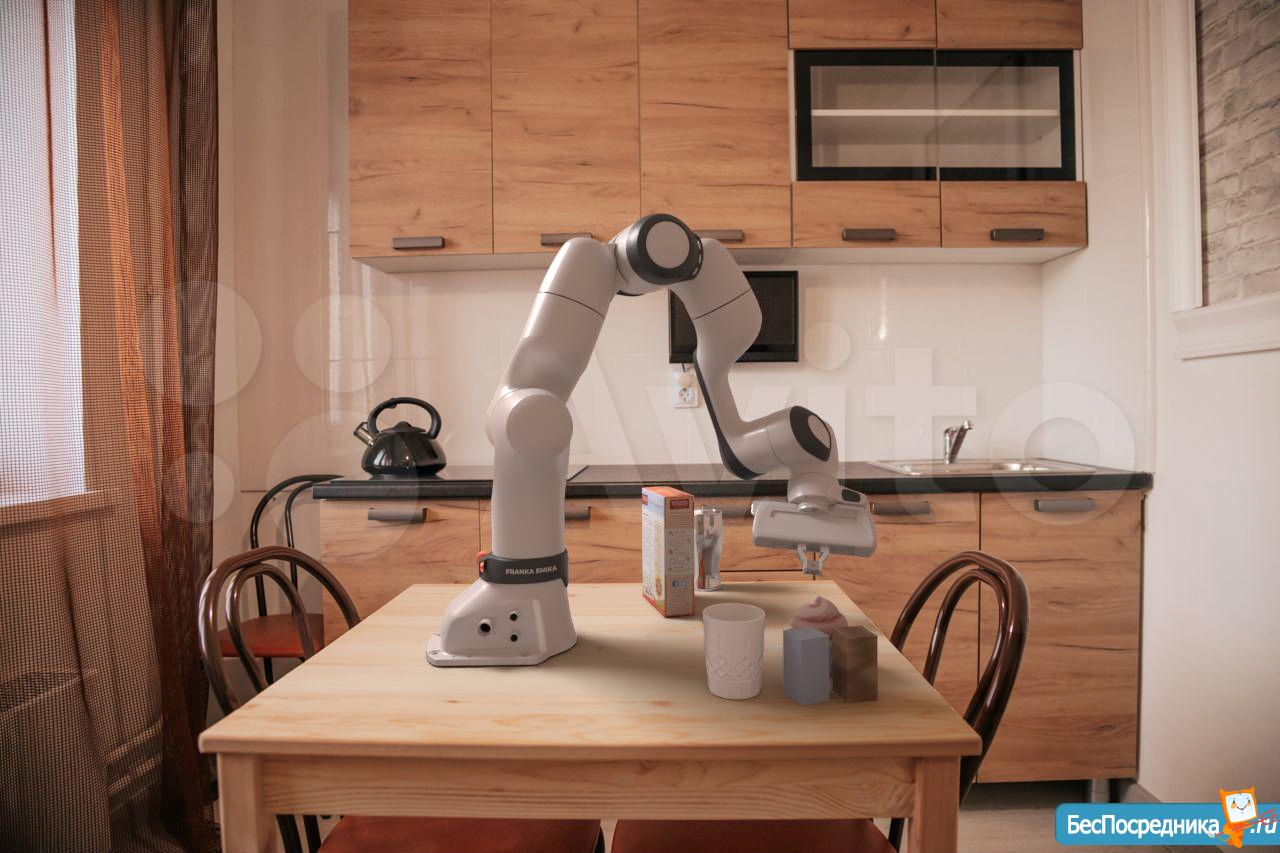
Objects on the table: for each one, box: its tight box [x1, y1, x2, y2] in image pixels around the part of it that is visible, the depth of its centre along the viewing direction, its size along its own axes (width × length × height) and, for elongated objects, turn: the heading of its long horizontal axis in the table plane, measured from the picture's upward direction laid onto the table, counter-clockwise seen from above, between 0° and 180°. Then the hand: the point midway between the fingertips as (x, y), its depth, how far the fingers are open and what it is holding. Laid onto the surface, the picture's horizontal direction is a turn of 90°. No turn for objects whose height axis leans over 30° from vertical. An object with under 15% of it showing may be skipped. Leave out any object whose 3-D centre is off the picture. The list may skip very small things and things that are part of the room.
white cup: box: [702, 602, 766, 701], centre depth 89 cm, size 8×8×10 cm
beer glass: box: [694, 508, 724, 592], centre depth 137 cm, size 7×7×15 cm
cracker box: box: [641, 486, 696, 618], centre depth 125 cm, size 14×6×21 cm, turn 15°
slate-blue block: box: [782, 626, 830, 706], centre depth 86 cm, size 4×4×8 cm
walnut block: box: [831, 625, 879, 704], centre depth 86 cm, size 4×4×8 cm
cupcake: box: [790, 595, 850, 676], centre depth 95 cm, size 9×9×10 cm
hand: (812, 573), depth 112 cm, fingers closed
